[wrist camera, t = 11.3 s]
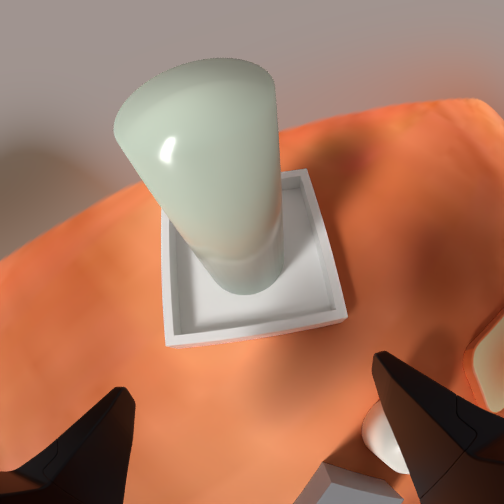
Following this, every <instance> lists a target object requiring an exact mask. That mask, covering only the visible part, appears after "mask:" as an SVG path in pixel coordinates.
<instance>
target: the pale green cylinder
mask: <svg viewBox="0 0 504 504" xmlns="http://www.w3.org/2000/svg"><path fill="white" fill-rule="evenodd" d="M114 136H115V138H116V140H117V142H118V144H119V145H120V147H121V148H122V150H123V151H124V153H125V155H126V156H127V158H128V159H129V160H130V162H131V164H132V165H133V167H134V168H135V170H136V171H137V173H138V174H139V176H140V177H141V179H142V180H143V182H144V183H145V185H146V186H147V188H148V189H149V190H150V192H151V193H152V195H153V196H154V198H155V199H156V201H157V202H158V204H159V205H160V206H161V208H162V209H163V211H164V212H165V214H166V215H167V216H168V218H169V219H170V221H171V222H172V223H173V225H174V226H175V228H176V229H177V230H178V232H179V233H180V235H181V236H182V237H183V239H184V240H185V242H186V243H187V244H188V246H189V247H190V248H191V250H192V251H193V252H194V254H195V255H196V257H197V258H198V259H199V261H200V262H201V263H202V265H203V266H204V267H205V269H206V270H207V271H208V273H209V274H210V275H211V277H212V278H213V279H214V281H215V282H216V283H217V284H218V285H219V286H220V287H221V288H223V289H224V290H226V291H228V292H230V293H233V294H237V295H252V294H256V293H259V292H261V291H263V290H265V289H267V288H268V287H270V286H271V285H272V284H273V283H274V282H275V281H276V280H277V278H278V277H279V275H280V273H281V271H282V268H283V264H284V236H283V209H282V187H281V168H280V151H279V135H278V121H277V106H276V93H275V84H274V81H273V79H272V77H271V75H270V74H269V73H268V72H267V71H266V70H265V69H263V68H262V67H260V66H259V65H257V64H254V63H252V62H248V61H245V60H240V59H233V58H211V59H203V60H198V61H193V62H190V63H186V64H182V65H180V66H177V67H174V68H172V69H169V70H167V71H165V72H163V73H161V74H159V75H157V76H155V77H154V78H152V79H150V80H149V81H147V82H146V83H144V84H143V85H142V86H141V87H139V88H138V89H137V90H136V91H135V92H134V93H133V94H132V95H131V96H130V97H129V98H128V99H127V100H126V101H125V103H124V104H123V105H122V107H121V109H120V110H119V112H118V114H117V116H116V119H115V123H114Z"/></svg>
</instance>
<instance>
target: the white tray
mask: <svg viewBox="0 0 504 504" xmlns="http://www.w3.org/2000/svg"><path fill="white" fill-rule="evenodd" d="M281 187H282V209H283V236H284V264H283V268H282V271H281V273H280V275H279V277H278V278H277V280H276V281H275V282H274V283H273V284H272V285H271V286H270V287H268V288H267V289H265V290H263V291H261V292H259V293H256V294H252V295H237V294H233V293H230V292H228V291H226V290H224V289H223V288H221V287H220V286H219V285H218V284H217V283H216V282H215V281H214V279H213V278H212V277H211V275H210V274H209V273H208V271H207V270H206V269H205V267H204V266H203V265H202V263H201V262H200V261H199V259H198V258H197V257H196V255H195V254H194V252H193V251H192V250H191V248H190V247H189V246H188V244H187V243H186V242H185V240H184V239H183V237H182V236H181V235H180V233H179V232H178V230H177V229H176V228H175V226H174V225H173V223H172V222H171V221H170V219H169V218H168V216H167V215H166V214H165V212H164V211H163V209H161V269H162V297H163V315H164V330H165V342H166V346H168V347H172V348H176V349H180V348H190V347H199V346H208V345H216V344H224V343H231V342H239V341H245V340H252V339H259V338H265V337H271V336H277V335H282V334H288V333H293V332H299V331H304V330H309V329H314V328H319V327H323V326H328V325H333V324H337V323H342V322H343V321H344V320H345V319H346V318H348V315H347V310H346V306H345V302H344V297H343V293H342V289H341V285H340V281H339V277H338V273H337V269H336V265H335V261H334V258H333V254H332V250H331V247H330V243H329V239H328V236H327V232H326V229H325V225H324V222H323V219H322V215H321V212H320V209H319V205H318V202H317V199H316V196H315V193H314V189H313V186H312V183H311V180H310V177H309V174H308V171H307V168H306V169H299V170H292V171H286V172H281Z"/></svg>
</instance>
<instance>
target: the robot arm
mask: <svg viewBox="0 0 504 504" xmlns="http://www.w3.org/2000/svg"><path fill="white" fill-rule="evenodd" d="M372 375H373V379H374V382H375V385H376V388H377V391H378V395H379V398H380V401H381V405H382V408H383V411H384V413H385V416H386V418H387V420H388V422H389V425H390V427H391V429H392V432H393V434H394V436H395V439H396V441H397V444H398V446H399V448H400V451H401V453H402V456H403V458H404V461H405V463H406V466H407V468H408V471H409V473H410V476H411V478H412V481H413V483H414V486H415V489H416V491H417V494H418V497H419V499H420V503H421V504H504V418H502V417H500V416H498V415H495V414H493V413H491V412H488V411H486V410H484V409H482V408H480V407H478V406H476V405H474V404H472V403H470V402H469V401H467V400H465V399H463V398H462V397H460V396H458V395H457V396H456V394H455V393H453V392H452V391H450V390H448V389H447V388H445V387H444V386H442V385H440V384H439V383H437V382H435V381H434V380H432V379H430V378H429V377H427V376H426V375H424V374H422V373H421V372H419V371H417V370H416V369H414V368H413V367H411V366H409V365H408V364H406V363H404V362H403V361H401V360H400V359H398V358H396V357H395V356H393V355H392V354H390V353H388V352H387V351H381V352H378V353H375V354H374V356H373V364H372ZM135 407H136V405H135V401H134V399H133V398H132V396H131V394H130V393H129V391H128V390H127V389H126V388H125V387H115V388H113V389H112V390H111V391H110V392H109V393H108V394H107V395H106V396H105V397H103V398H102V399H101V400H100V401H99V402H98V403H97V404H96V405H94V406H93V407H92V408H91V409H90V410H89V411H88V412H87V413H85V414H84V415H83V416H82V417H81V418H80V419H79V420H78V421H76V422H75V423H74V424H73V425H72V426H71V427H70V428H69V429H67V430H66V431H65V432H64V433H63V434H62V435H61V436H60V437H58V439H56V440H55V441H54V442H53V443H52V444H50V445H49V446H48V447H47V448H46V449H44V450H43V451H42V452H40V453H39V454H38V455H36V456H35V457H34V458H32V459H31V460H29V461H28V462H27V463H25V464H24V465H22V466H21V467H19V468H18V469H16V470H13V471H7V472H0V504H123V500H124V492H125V485H126V478H127V471H128V465H129V459H130V453H131V447H132V441H133V432H134V419H135Z"/></svg>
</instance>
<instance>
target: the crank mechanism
mask: <svg viewBox="0 0 504 504" xmlns="http://www.w3.org/2000/svg"><path fill="white" fill-rule="evenodd" d="M463 369H464V372H465V375H466V377H467V380H468V382H469V385H470V387H471V390H472V392H473V395H474V397H475V400H476V403H477V405H478V407H480V408H482V409H484V410H486V411H488V412H491V413H493V414H496V413H499V412H500V411H501V410H503V409H504V308H503V309H502V310H501V311H500V312H499V313H498V315H497V316H496V317H495V318H494V319H493V320H492V321H491V322H490V323H489V324H488V326H487V327H486V328H485V329H484V330H483V331H482V332H481V333H480V334H479V335H478V336H477V337H476V338H475V339H474V340H473V341H472V342H471V343H470V344H469V345H468V347H467V348H466V350H465V353H464V357H463Z"/></svg>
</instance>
